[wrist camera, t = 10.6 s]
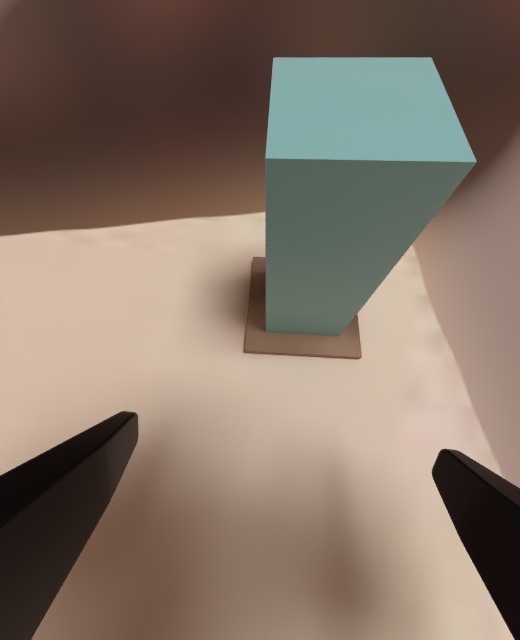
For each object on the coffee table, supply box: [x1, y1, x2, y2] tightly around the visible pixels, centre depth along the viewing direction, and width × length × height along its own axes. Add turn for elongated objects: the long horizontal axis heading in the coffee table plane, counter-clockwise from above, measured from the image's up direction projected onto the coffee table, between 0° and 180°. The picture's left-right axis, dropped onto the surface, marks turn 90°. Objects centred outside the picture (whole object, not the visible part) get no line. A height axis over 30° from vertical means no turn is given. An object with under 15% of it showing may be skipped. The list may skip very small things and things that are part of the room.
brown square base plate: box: [245, 257, 362, 359], centre depth 17 cm, size 8×8×4 cm
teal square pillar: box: [266, 58, 476, 336], centre depth 13 cm, size 5×5×12 cm
